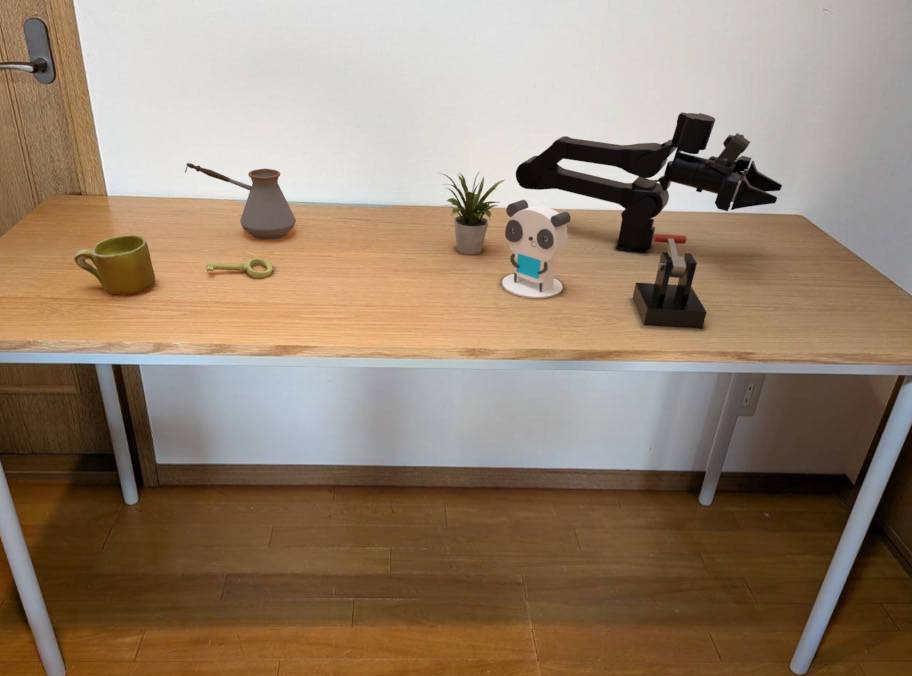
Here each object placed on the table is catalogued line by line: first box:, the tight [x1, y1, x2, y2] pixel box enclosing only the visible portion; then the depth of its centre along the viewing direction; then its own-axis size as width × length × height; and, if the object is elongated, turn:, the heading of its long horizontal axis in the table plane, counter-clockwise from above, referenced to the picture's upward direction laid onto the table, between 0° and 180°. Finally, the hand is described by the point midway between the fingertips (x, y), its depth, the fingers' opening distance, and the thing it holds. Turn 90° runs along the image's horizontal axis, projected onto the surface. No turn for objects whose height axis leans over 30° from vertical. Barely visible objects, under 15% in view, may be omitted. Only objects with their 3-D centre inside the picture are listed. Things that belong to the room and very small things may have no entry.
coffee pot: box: [184, 162, 297, 241], centre depth 154 cm, size 21×12×15 cm, turn 99°
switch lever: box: [652, 233, 687, 279], centre depth 130 cm, size 10×6×2 cm, turn 177°
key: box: [205, 257, 273, 279], centre depth 140 cm, size 7×12×2 cm, turn 121°
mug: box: [73, 234, 156, 296], centre depth 132 cm, size 12×10×10 cm
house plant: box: [439, 169, 506, 255], centre depth 151 cm, size 14×14×16 cm
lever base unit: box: [632, 251, 707, 330], centre depth 130 cm, size 11×10×11 cm
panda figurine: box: [501, 199, 571, 299], centre depth 137 cm, size 12×11×15 cm
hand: (778, 193), depth 142 cm, fingers open, 9 cm apart
